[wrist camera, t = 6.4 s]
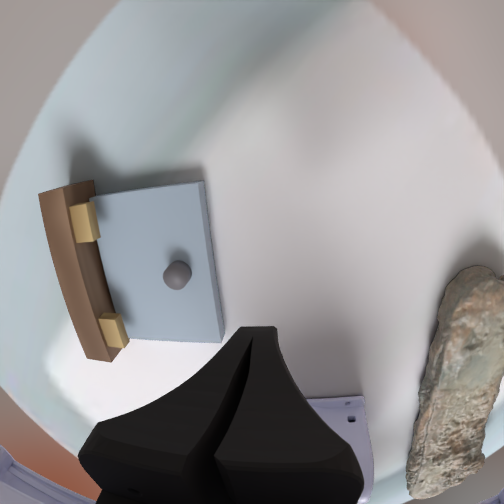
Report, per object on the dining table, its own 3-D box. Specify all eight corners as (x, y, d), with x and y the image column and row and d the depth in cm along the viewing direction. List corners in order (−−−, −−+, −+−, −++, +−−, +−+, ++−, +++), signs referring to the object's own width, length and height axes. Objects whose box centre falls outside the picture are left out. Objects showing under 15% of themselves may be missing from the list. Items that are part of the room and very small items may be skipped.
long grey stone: (509, 243, 19) (407, 268, 21) (544, 264, 14) (430, 298, 16) (459, 474, 27) (396, 492, 30) (466, 501, 22) (399, 520, 25)
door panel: (206, 179, 19) (192, 185, 17) (226, 329, 23) (218, 351, 20) (102, 193, 20) (80, 201, 18) (133, 326, 24) (118, 344, 21)
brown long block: (109, 176, 19) (79, 184, 16) (145, 338, 24) (127, 364, 20) (68, 184, 20) (38, 193, 17) (107, 335, 24) (86, 358, 21)
